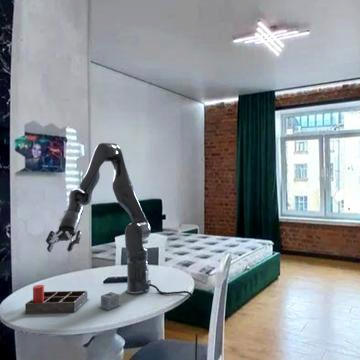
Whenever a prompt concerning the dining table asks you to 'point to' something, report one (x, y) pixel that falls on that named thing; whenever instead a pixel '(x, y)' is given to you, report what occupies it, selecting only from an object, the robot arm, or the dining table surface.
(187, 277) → the dining table surface
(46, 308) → the grid
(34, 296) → the red cylinder
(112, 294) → the dice cube
